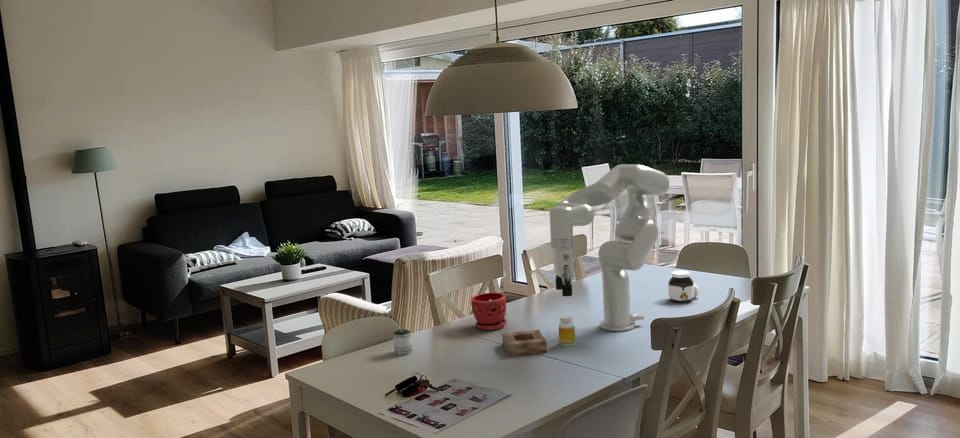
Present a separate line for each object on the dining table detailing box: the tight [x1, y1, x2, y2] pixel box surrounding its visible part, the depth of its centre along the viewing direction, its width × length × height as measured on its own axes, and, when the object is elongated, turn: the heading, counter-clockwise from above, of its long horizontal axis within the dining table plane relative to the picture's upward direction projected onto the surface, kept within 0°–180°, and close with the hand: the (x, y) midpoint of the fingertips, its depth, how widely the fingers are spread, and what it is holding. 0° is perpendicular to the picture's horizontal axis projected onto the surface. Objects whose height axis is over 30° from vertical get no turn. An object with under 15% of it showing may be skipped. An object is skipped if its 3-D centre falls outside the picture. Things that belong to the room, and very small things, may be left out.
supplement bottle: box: [558, 314, 576, 347], centre depth 247 cm, size 5×5×10 cm
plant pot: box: [470, 291, 507, 331], centre depth 272 cm, size 13×13×12 cm
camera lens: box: [392, 328, 413, 356], centre depth 250 cm, size 6×6×8 cm
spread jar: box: [667, 270, 700, 304], centre depth 292 cm, size 12×11×12 cm
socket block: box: [501, 329, 548, 357], centre depth 246 cm, size 13×13×4 cm
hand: (563, 292), depth 245 cm, fingers open, 9 cm apart
